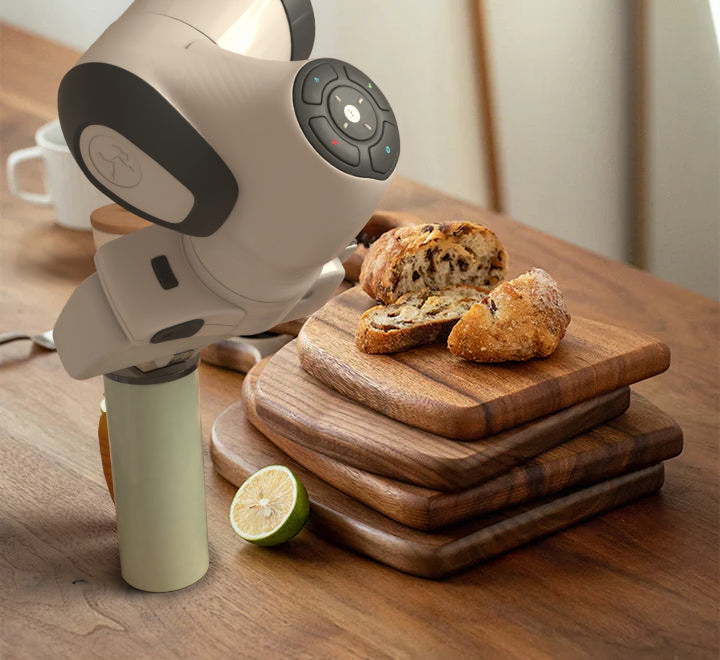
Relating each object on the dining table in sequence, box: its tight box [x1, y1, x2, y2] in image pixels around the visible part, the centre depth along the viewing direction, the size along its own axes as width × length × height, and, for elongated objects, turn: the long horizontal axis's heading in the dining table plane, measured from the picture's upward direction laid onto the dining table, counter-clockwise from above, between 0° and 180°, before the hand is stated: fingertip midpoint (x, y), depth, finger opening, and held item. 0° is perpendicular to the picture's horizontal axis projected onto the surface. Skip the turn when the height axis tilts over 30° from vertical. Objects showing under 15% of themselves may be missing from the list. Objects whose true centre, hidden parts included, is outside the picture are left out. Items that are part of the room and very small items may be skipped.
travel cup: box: [102, 350, 210, 593], centre depth 85 cm, size 8×8×19 cm
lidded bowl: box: [89, 202, 154, 252], centre depth 153 cm, size 13×13×11 cm
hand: (171, 354), depth 79 cm, fingers closed
